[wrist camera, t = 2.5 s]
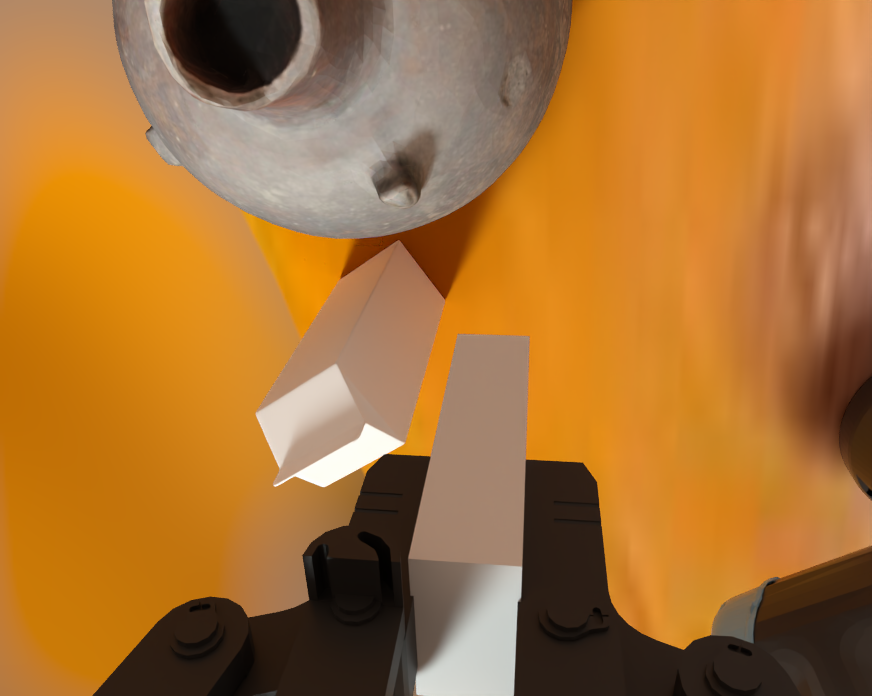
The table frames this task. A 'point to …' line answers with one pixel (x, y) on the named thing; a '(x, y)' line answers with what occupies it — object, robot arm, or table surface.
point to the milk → (354, 372)
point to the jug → (343, 101)
